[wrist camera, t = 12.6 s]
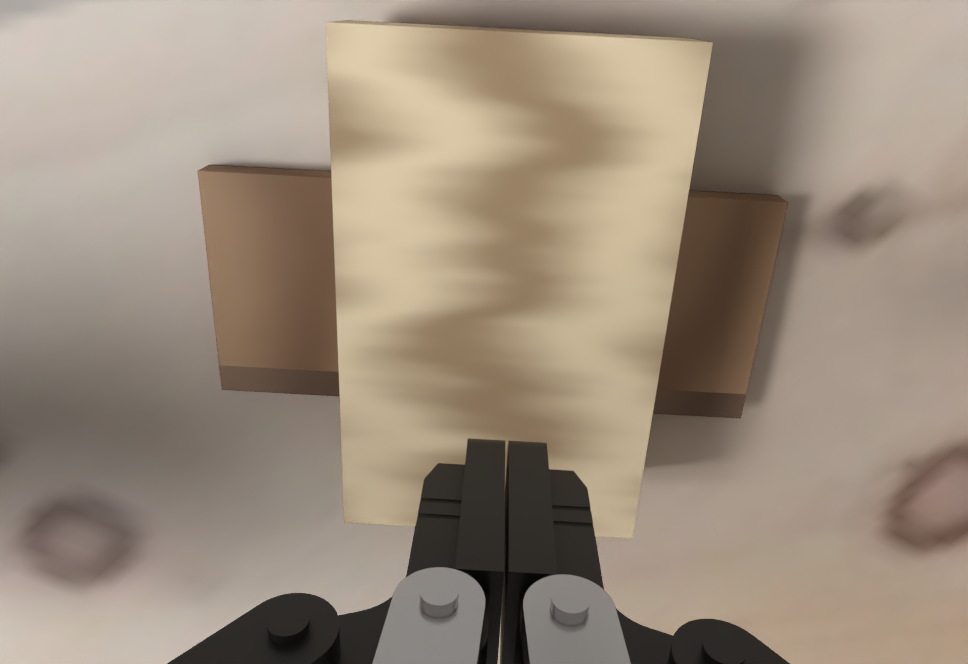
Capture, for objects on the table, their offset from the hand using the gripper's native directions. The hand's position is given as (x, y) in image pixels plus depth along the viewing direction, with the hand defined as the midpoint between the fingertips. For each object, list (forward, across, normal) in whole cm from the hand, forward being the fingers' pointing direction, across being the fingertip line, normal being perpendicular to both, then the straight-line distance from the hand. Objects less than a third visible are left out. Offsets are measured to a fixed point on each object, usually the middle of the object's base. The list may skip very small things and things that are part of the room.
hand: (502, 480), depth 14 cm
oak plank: (+10, 0, +8) cm, 13 cm away
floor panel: (+13, +1, +1) cm, 13 cm away
